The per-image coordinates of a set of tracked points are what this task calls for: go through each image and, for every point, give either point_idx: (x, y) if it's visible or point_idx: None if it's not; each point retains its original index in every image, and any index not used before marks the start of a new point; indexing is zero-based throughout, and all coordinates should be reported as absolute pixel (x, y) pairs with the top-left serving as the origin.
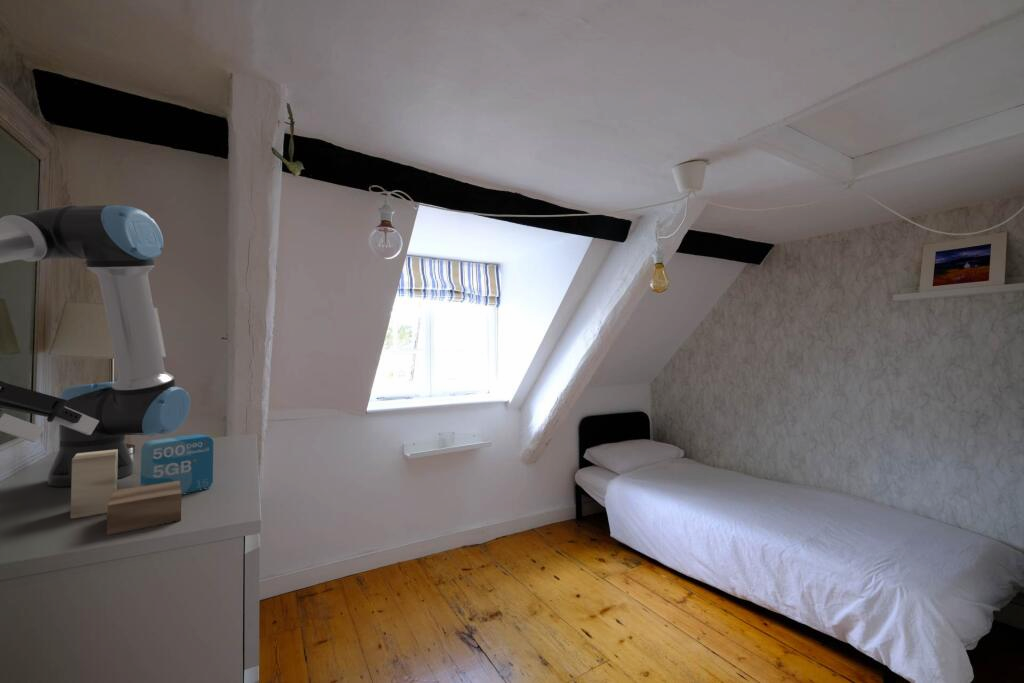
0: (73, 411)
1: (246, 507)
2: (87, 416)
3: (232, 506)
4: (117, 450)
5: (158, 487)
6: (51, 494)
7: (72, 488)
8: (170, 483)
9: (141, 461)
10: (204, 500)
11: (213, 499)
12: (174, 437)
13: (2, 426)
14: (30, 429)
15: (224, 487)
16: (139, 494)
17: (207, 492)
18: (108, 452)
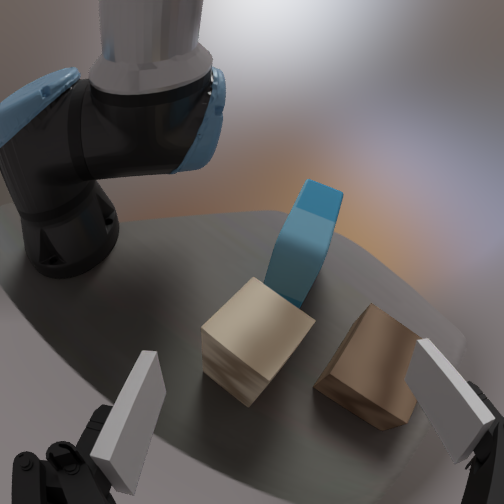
0: (488, 400)
1: (429, 307)
2: (447, 362)
3: (414, 309)
4: (260, 282)
5: (382, 339)
6: (79, 309)
7: (258, 395)
8: (375, 318)
9: (272, 271)
10: (362, 299)
11: (369, 293)
12: (298, 204)
13: (134, 469)
14: (150, 390)
15: (330, 251)
16: (394, 373)
17: (330, 271)
18: (273, 307)
